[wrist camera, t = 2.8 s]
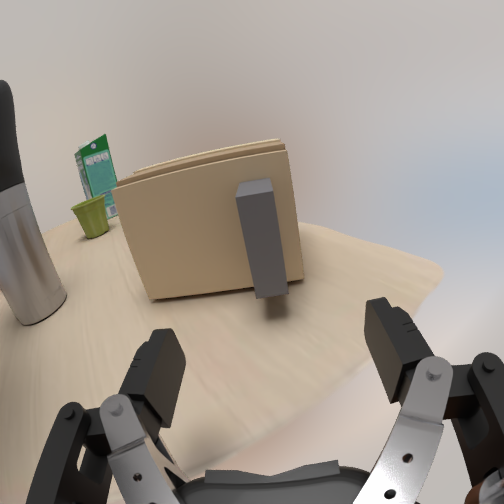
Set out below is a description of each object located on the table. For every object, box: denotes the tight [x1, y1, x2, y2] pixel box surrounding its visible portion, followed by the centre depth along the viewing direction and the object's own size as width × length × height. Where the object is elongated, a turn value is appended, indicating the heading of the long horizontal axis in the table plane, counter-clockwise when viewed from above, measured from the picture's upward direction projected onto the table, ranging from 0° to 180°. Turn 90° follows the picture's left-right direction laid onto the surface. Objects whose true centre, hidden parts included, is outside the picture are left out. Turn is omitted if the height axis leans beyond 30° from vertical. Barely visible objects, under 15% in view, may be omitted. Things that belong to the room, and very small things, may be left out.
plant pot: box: [71, 194, 109, 238], centre depth 59 cm, size 9×9×9 cm
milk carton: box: [75, 134, 118, 220], centre depth 72 cm, size 9×9×25 cm
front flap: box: [111, 150, 304, 300], centre depth 23 cm, size 16×6×12 cm, turn 89°
